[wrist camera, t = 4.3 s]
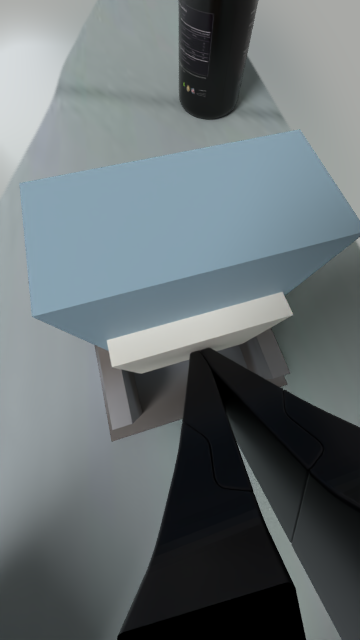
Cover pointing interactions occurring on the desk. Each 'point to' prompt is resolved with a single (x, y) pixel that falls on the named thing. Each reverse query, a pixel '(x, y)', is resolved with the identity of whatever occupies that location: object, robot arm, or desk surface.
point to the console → (174, 385)
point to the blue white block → (181, 246)
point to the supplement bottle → (213, 53)
